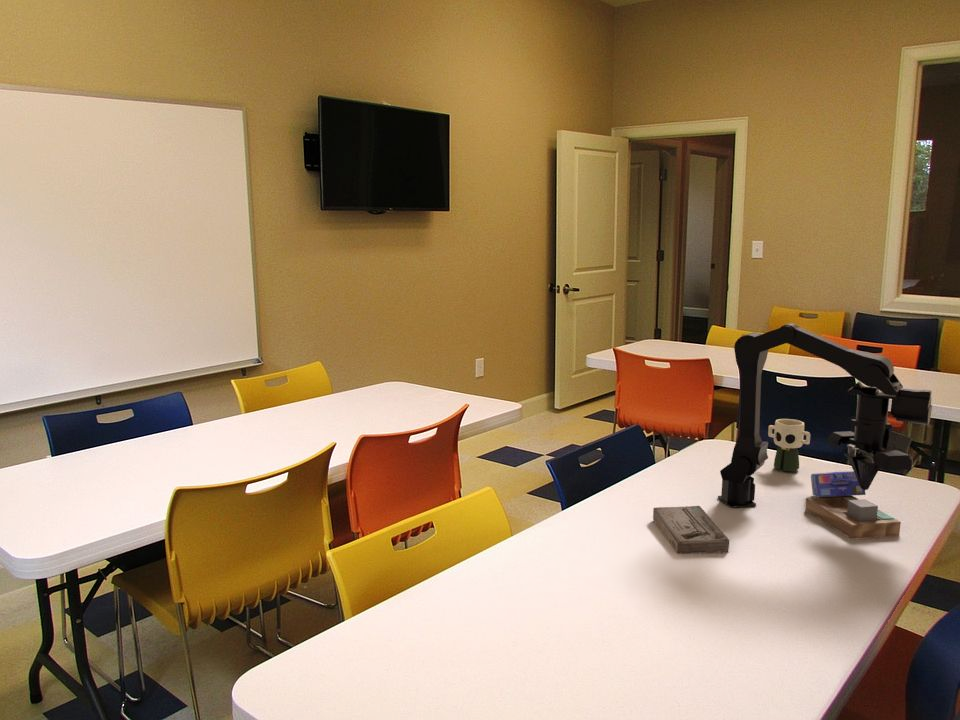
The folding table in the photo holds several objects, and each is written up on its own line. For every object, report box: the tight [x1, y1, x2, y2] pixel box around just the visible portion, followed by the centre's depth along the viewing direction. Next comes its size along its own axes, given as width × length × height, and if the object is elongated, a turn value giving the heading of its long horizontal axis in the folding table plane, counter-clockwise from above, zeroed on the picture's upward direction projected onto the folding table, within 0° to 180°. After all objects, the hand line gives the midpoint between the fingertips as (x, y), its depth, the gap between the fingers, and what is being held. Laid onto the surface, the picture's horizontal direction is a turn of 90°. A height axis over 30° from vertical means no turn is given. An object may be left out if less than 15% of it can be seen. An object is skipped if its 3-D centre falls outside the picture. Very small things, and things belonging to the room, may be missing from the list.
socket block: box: [805, 495, 902, 540], centre depth 160 cm, size 11×16×3 cm
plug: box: [847, 498, 879, 522], centre depth 156 cm, size 4×4×6 cm
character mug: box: [767, 418, 811, 472], centre depth 195 cm, size 11×7×13 cm, turn 46°
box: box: [652, 505, 730, 555], centre depth 153 cm, size 11×17×3 cm, turn 4°
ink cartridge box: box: [810, 470, 866, 497], centre depth 169 cm, size 10×6×14 cm
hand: (864, 489), depth 155 cm, fingers closed
